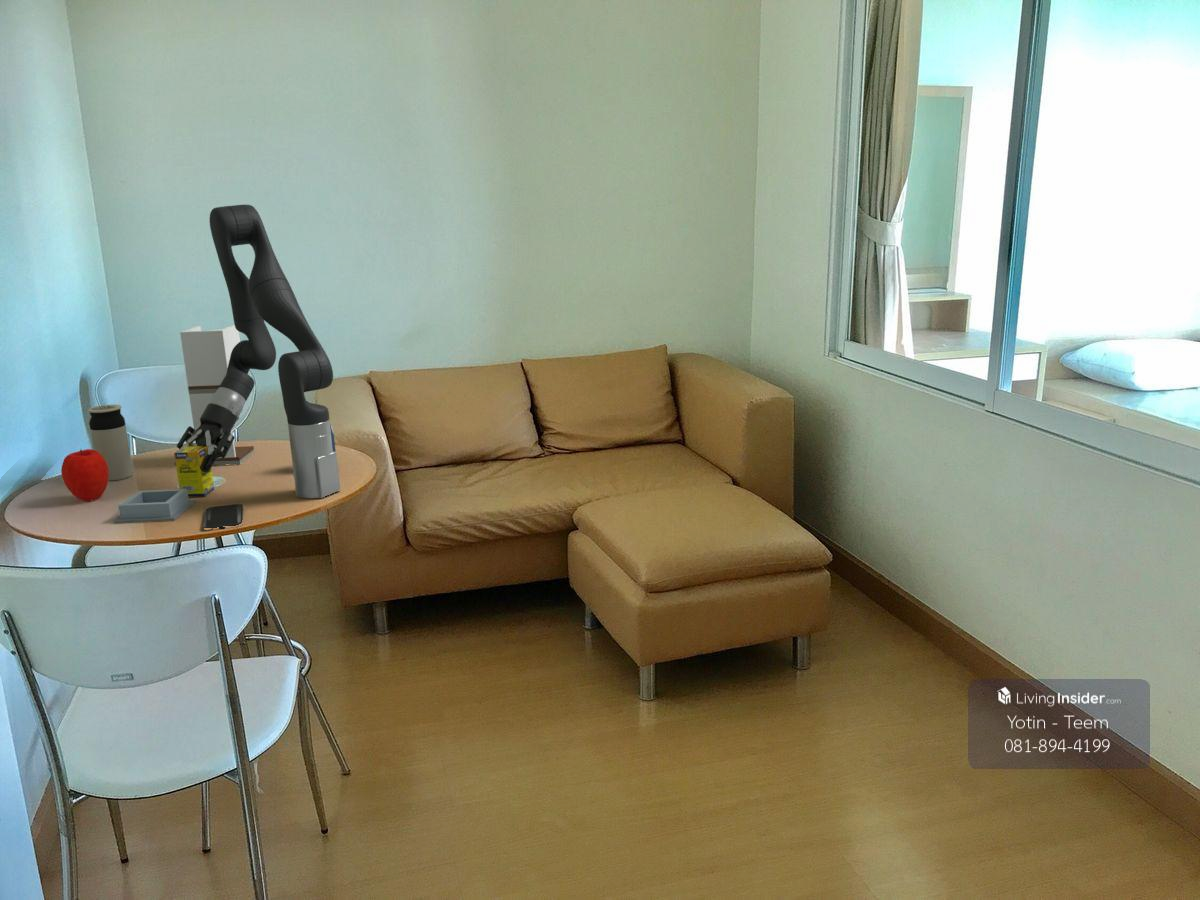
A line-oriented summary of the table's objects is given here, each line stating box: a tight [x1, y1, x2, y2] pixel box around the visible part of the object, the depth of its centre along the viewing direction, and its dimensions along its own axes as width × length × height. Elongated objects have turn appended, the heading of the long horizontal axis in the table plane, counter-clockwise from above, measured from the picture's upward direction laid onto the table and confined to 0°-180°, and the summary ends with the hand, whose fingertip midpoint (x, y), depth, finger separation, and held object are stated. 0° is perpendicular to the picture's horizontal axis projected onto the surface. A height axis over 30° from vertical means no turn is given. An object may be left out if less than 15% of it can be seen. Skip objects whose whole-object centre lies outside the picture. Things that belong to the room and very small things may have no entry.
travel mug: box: [87, 404, 134, 482], centre depth 248 cm, size 8×8×18 cm
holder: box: [112, 488, 196, 524], centre depth 220 cm, size 13×13×4 cm
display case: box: [180, 324, 255, 466], centre depth 259 cm, size 11×11×35 cm
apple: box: [60, 448, 109, 502], centre depth 231 cm, size 10×10×12 cm
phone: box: [202, 503, 244, 529], centre depth 215 cm, size 8×1×15 cm
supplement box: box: [173, 446, 215, 498], centre depth 233 cm, size 6×6×11 cm
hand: (190, 468), depth 232 cm, fingers open, 8 cm apart
